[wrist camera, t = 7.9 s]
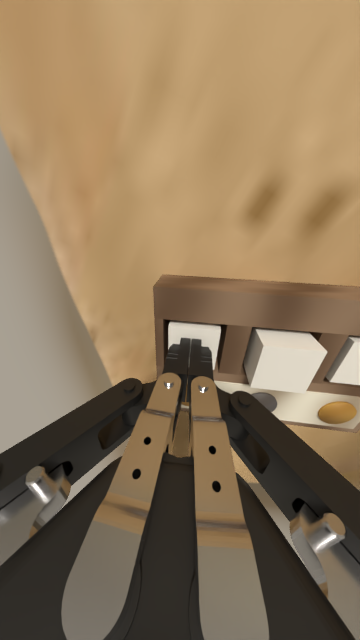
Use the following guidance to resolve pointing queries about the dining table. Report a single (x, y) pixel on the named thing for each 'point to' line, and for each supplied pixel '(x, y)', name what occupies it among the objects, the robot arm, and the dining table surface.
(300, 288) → the button board
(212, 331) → the key
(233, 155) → the dining table surface
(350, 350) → the key
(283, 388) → the key middle
